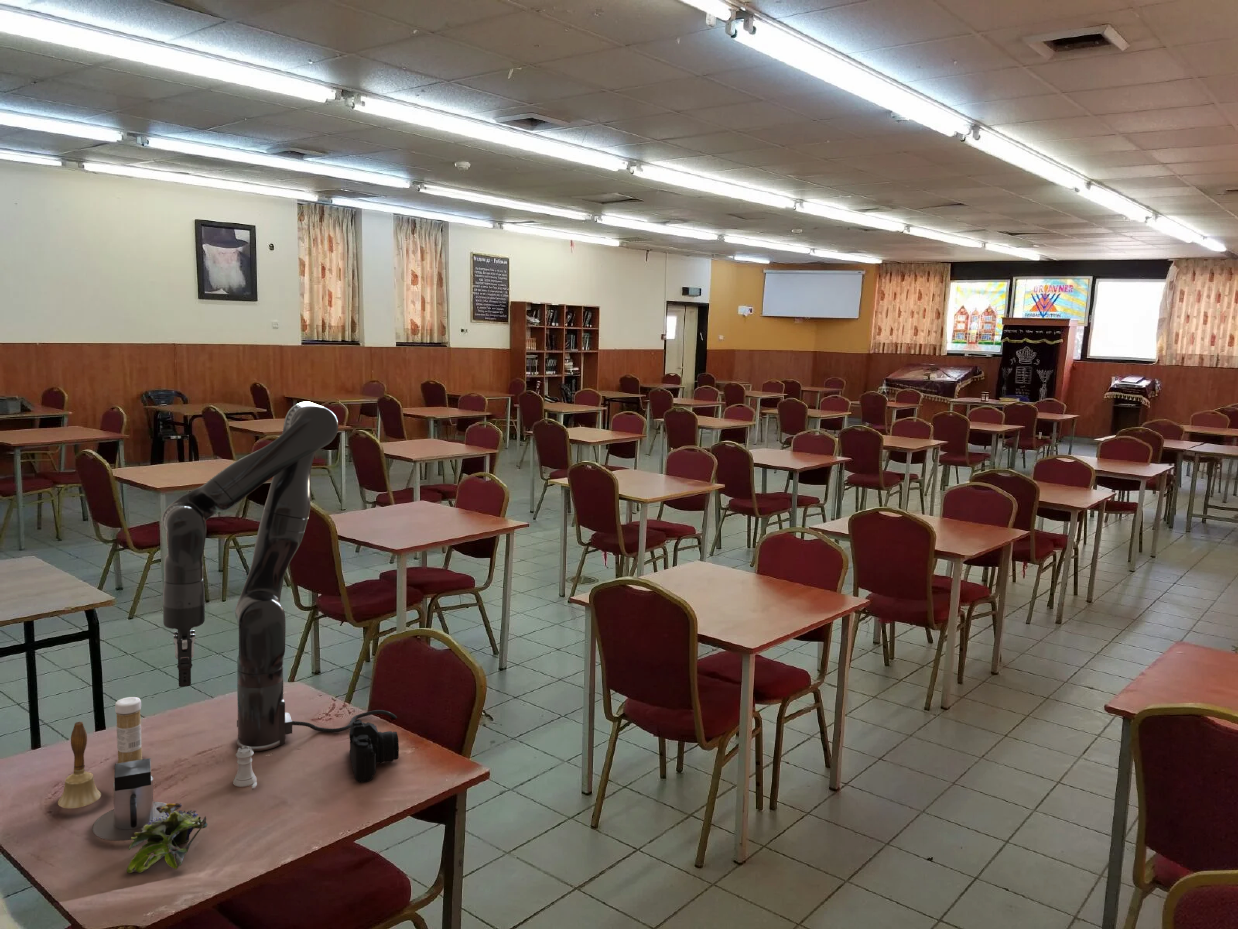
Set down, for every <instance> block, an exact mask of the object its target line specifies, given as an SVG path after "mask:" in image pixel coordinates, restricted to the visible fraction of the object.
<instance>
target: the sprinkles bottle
mask: <svg viewBox="0 0 1238 929" xmlns="http://www.w3.org/2000/svg"><path fill="white" fill-rule="evenodd" d="M141 710H142V699H140V698H139V697H136V696H127V697H122V698H120V699H118V700H116V701H115V703H114V711H115V715H116V748H117V763H123V762H129V761H136V760H142V759H143V756H142V755H143V754H142V753H143V752H142V720H141Z"/></svg>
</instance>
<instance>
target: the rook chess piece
mask: <svg viewBox="0 0 1238 929" xmlns="http://www.w3.org/2000/svg"><path fill="white" fill-rule="evenodd" d="M254 752H255V751H252V748H251V747H250V749H249V746H247V747H246V748H245V749H244V746H243V747H242V749H241V748H239V747H238V749H237V751H236V753H235V757H236V758H237V760H236V764H237V771H236V774H235V777H234V779H233V781H232V784H233V785H234V786H235V787H237V788H246V787H250V786H251V789H252V790H254V789H255V788H256V787H257V786H258V782H257V776H256V774H255V773H254V771H253V766H252V765H253V764H252V762H253V758H252V756H253V755H254Z"/></svg>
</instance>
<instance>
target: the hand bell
mask: <svg viewBox="0 0 1238 929" xmlns="http://www.w3.org/2000/svg"><path fill="white" fill-rule="evenodd" d="M87 744H88V733H87V729H86V728H85V726H84V722H83V721H76V722H75V723H74V726H73V728H72V731H71V736H70V746H71V751H72V753H73V756H74V758H73V773H71V774H70V775H68V776H66V778H65V780H64V788H63V792H62V795H61V796H60V798H59V799H58V800H57V805H58V806H59V807H61V808H64V809H78V808H82V807H87V806H89V805H91V804H93V803H95V802H97V801H98V800H100V798H101V796H102V793H101V792H100V790H99V789H98V788H97V786H96V783H95V779H94V774H93V773H92V772H90V771H85V766H86V765H85V751H86V749H87Z"/></svg>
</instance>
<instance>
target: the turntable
mask: <svg viewBox="0 0 1238 929" xmlns="http://www.w3.org/2000/svg"><path fill="white" fill-rule="evenodd" d="M153 802H154V819H156V818H159V817H160V818H161V817H162V816H164V817H167V815H166V814H165V813H159V811H158V810H157V809H156V808H157V807H159V806H166V805H167V804H168V803H165V802H160V801H153ZM173 812H174V811H173ZM154 819H153V820H154ZM142 828H144V827H143V826H142V827H139V828H135V829H128V830H125V829H119V828H117V827H116V826H115V825H114V808H113V809H110V810H108V811H107V812H105V813H103V814H102V815H101V816H99V817H98V818H97V819H96V820H95V821H94V822H93V825H92V829H91V830H92V833H93V835H94V836H96V837H97V838H99V839H102V840H104V841H105V840H106V841H111V842H112V841H113V842H122V841H131V840H132V839H131V837H137V836H135V834H134V833H136V832H138V833H139V832H140V833H141V832H142V831H143V830H142ZM132 841H133V840H132Z"/></svg>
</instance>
